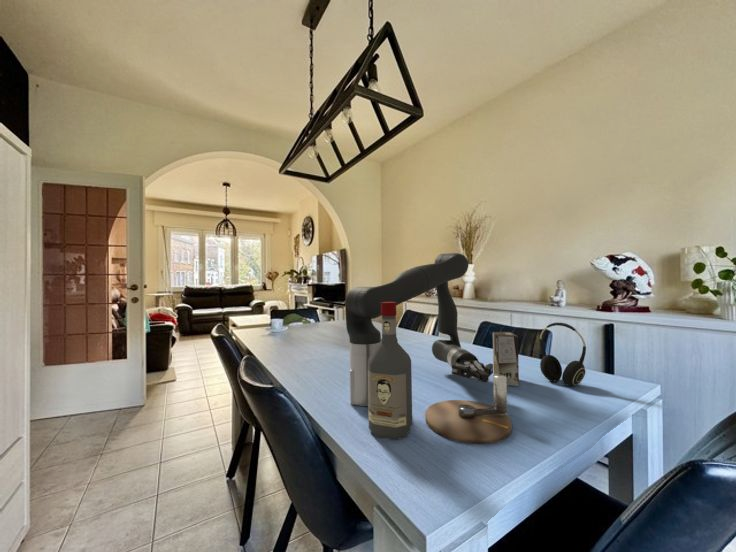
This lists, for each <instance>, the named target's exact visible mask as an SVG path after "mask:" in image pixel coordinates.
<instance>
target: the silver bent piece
mask: <svg viewBox="0 0 736 552" xmlns="http://www.w3.org/2000/svg"><path fill="white" fill-rule="evenodd" d="M492 378H493V379H492V380H493V385H492V386H493V387H492V388H493V407H494V408H485V409H475V407H473V406H471V405H459V406H458V414H459V415H460V416H461V417H464V418H473V417H475V415H491V414H507V413H508V394H507V393H508V389H507V387H508V385H507V382H506V376H505V375H501V374H495V375H494V374H492Z"/></svg>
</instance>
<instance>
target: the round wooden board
mask: <svg viewBox="0 0 736 552" xmlns="http://www.w3.org/2000/svg"><path fill="white" fill-rule="evenodd" d="M459 405H471V406H473V407H475V409H485V408H494V405H493V406H492V405H489V404H486V403H483V402H479V401H473V400H465V399H451V400H442V401H438V402H435V403H433V404H431V405H430V406H428V407H427V408H426V410H425V416H424V417H425V423H426V424H425V425H427V427H428V428H429V429H430V430H431V431H433V432H434V433H436V434H437V435H440V436H441V437H442V438H446V439H448V440H452V441H455V442H460V443H464V444H473V445H475V444H476V445H486V444H494V443H499V442H501V441H504V440H506V439H507V438H509V436H511V434H512V432H513V431H512V430H513V429H512V425H513V424H512V420H511V417H510V416H509V415H508V414H507V413H505V414H491V415H475V417H473V418H464V417H461V416H460V415H459V414H458V406H459Z"/></svg>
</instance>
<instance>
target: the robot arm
mask: <svg viewBox="0 0 736 552" xmlns="http://www.w3.org/2000/svg"><path fill="white" fill-rule="evenodd" d="M468 269H469V260H468V259H467V257H466V256H465V255H463V254H462V253H458V252H454V253H453V252H452V253H440V254H438V255H437V256H436V257H435V259H434V263H428V264H423V265H418V266H414V267H412V268H409V269H406V270H404V271H402V272H401V273H399V274H398V275H397V276H396V278H395V279H394V280H392V281H390V282H389V283H388V282H387V283H386V284H382V285H377V286H356V287H352V288H351V289H350V290H349V291H348V293H347V294H346V297H345V304H344V306H345V307H344V308H345V309H344V310H345V326H346V332H347V334H348V337H349V382H350V383H349V388H350V389H349V393H350V395H349V396H350V398H349V399H350V405H356V406H358V407H359V406H360V407H368V360H369V358H370V356H371V355H372V354H373V353H374V351H375V350H376V349H377V348H378V346H379V345H380V344H381V339H382V332H380V330H379V329H378V328H376V326H375V325H374V323H373V320H374V319H376V318H380V317H382V316H381V302H396V307H397V306H398V305H400V304H403V303H406V302H407V301H409V300H412V299H413V298H417V297H418V296H421V295H423V294H425V293H427V292H429V291H430V290H433V289H434V288H436V295H437V308H438V311H437V312H438V313H437V331H438V333H440V334H443V335H446V336H447V335H448V336H449V338H450V339H437V340H435V341H434V342H433V343H432V346H431V352H432V354H433V356H434V358H435V359H437V361H440V362H444V363H447V364H448V365H449V366H450V367H451V375H454V376H458V377H462V378H467V379H471V378H472V379H475V380H478V381H479V382H481V383H488V381H489V379H490V377H491V376H492V375H493V374H494V363H488V364H484V363H482V362H480V361H479V359H478V357H477V356H476V355H475V354H473V353H472V352H470V351H468V350H467V349H466V348H463V347H462V345H461V343H460V338H459V334H458V309H457V305H456V303H455V301H454V299H453V297H452V294H451V292H450V290H449V289H450V288H449V282H451V281H453V280H457V279H460V278H462V277H463V276H465V275H466V273H467V271H468Z"/></svg>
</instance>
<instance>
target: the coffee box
mask: <svg viewBox="0 0 736 552" xmlns="http://www.w3.org/2000/svg"><path fill="white" fill-rule="evenodd" d="M492 353H493V355H492V356H493V357H492V358H493V375H495V374H501V375H505V376H506V382H507V386H511V387H512V386H515V387H518V386H520V383H519V381H520V378H519V376H520V374H519V370H520V368H519V336H518V335H517V334H515V333H513V332H511V331H492Z"/></svg>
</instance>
